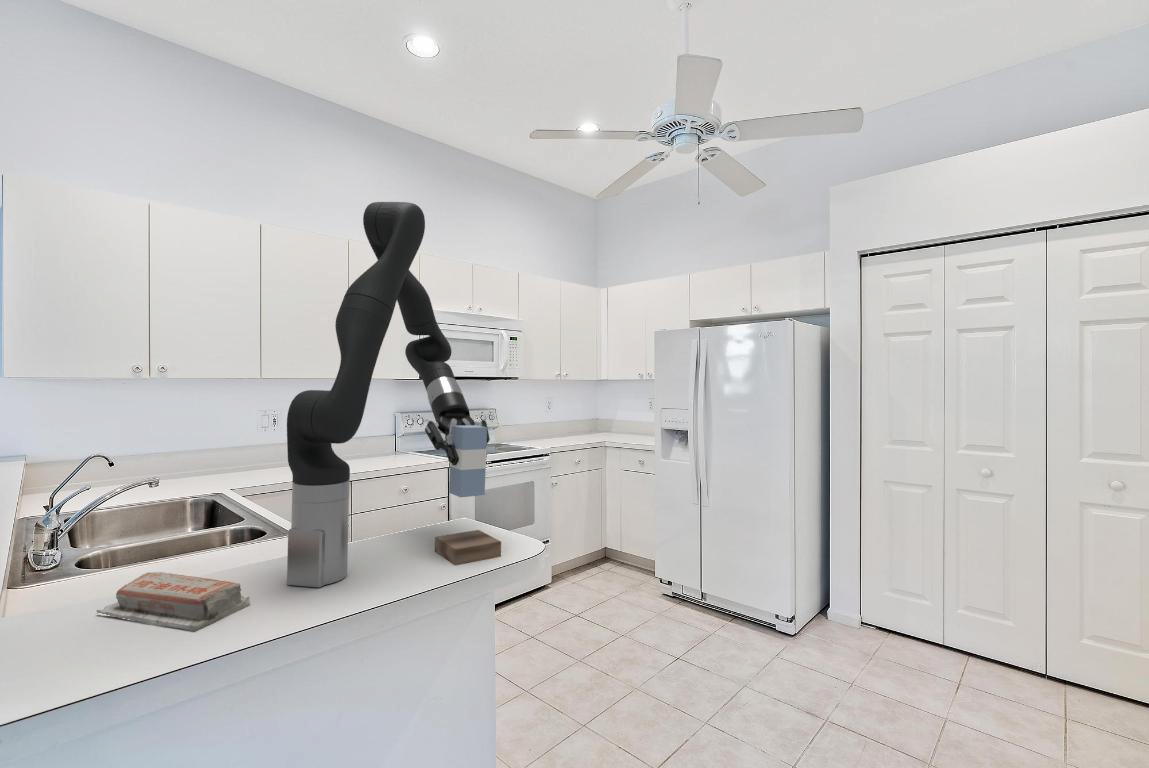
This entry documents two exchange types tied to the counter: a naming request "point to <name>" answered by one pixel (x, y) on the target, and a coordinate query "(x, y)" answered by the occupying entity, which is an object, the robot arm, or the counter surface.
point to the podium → (467, 546)
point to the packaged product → (177, 600)
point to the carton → (468, 461)
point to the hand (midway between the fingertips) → (469, 461)
